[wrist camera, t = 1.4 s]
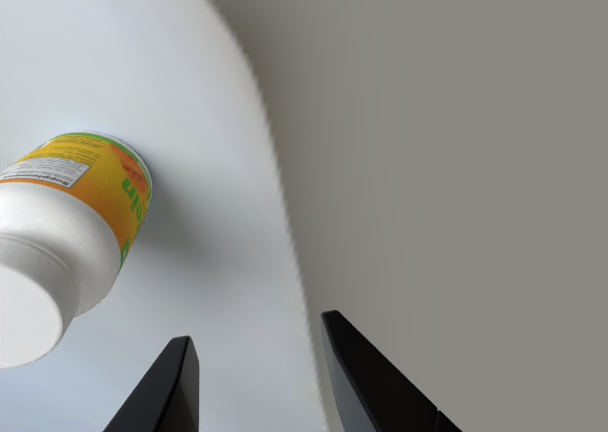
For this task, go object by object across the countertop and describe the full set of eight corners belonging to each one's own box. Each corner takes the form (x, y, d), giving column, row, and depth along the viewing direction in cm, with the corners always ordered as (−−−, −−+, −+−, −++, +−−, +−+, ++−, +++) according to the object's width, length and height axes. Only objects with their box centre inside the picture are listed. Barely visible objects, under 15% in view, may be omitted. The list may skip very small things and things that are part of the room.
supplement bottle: (156, 230, 21) (100, 383, 12) (46, 226, 19) (-100, 390, 11) (151, 133, 18) (77, 240, 10) (25, 122, 17) (-183, 232, 9)
